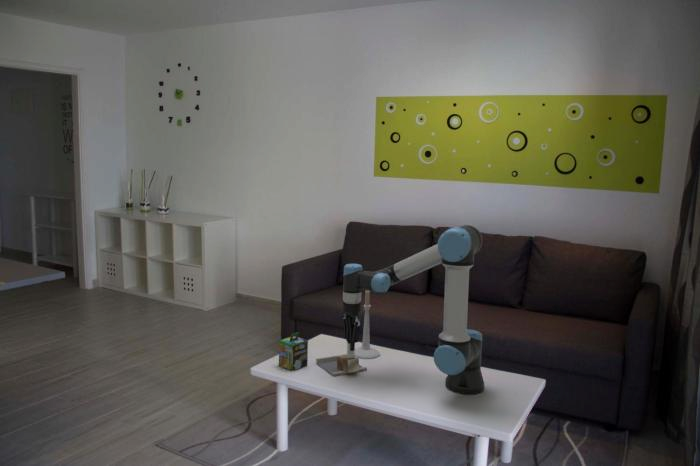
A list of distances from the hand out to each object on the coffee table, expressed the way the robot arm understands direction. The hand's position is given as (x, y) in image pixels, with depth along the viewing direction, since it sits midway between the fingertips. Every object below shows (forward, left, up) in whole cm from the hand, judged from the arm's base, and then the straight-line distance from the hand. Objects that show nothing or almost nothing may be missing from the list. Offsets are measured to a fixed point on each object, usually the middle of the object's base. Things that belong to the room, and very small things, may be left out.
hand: (350, 357), depth 238 cm
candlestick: (+18, -18, -7) cm, 26 cm away
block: (-3, 0, -3) cm, 4 cm away
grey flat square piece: (+8, 0, -7) cm, 11 cm away
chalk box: (+18, +18, -7) cm, 26 cm away
